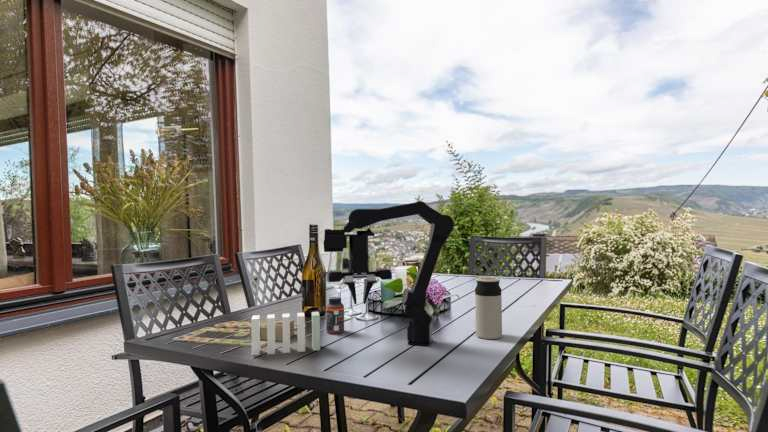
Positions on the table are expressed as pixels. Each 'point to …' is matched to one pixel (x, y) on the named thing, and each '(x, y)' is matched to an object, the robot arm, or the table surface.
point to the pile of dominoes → (236, 333)
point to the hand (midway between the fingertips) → (359, 304)
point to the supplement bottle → (335, 316)
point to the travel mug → (488, 308)
